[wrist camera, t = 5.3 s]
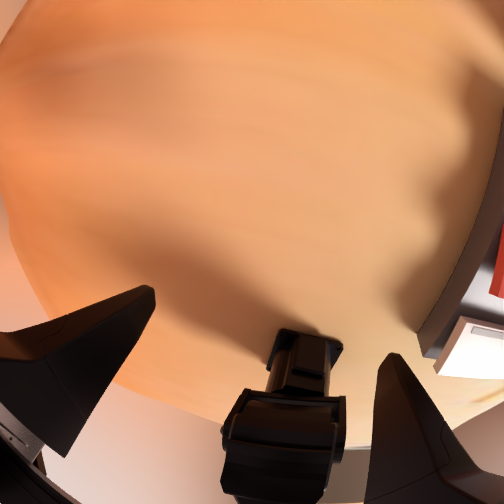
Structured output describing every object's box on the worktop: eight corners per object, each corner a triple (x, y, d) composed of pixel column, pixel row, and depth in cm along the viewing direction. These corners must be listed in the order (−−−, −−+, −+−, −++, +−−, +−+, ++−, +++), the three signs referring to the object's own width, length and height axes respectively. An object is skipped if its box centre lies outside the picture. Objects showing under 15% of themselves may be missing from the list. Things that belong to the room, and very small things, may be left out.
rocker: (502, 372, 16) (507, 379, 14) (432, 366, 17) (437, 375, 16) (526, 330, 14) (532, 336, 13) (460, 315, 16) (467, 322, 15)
